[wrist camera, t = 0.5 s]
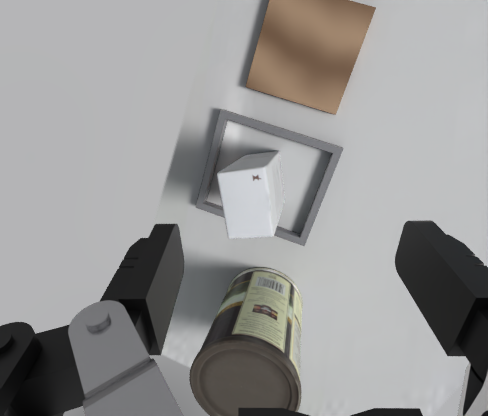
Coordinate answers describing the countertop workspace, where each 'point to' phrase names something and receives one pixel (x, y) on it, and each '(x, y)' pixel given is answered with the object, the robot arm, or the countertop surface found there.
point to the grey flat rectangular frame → (322, 145)
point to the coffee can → (252, 347)
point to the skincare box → (252, 195)
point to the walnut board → (309, 50)
